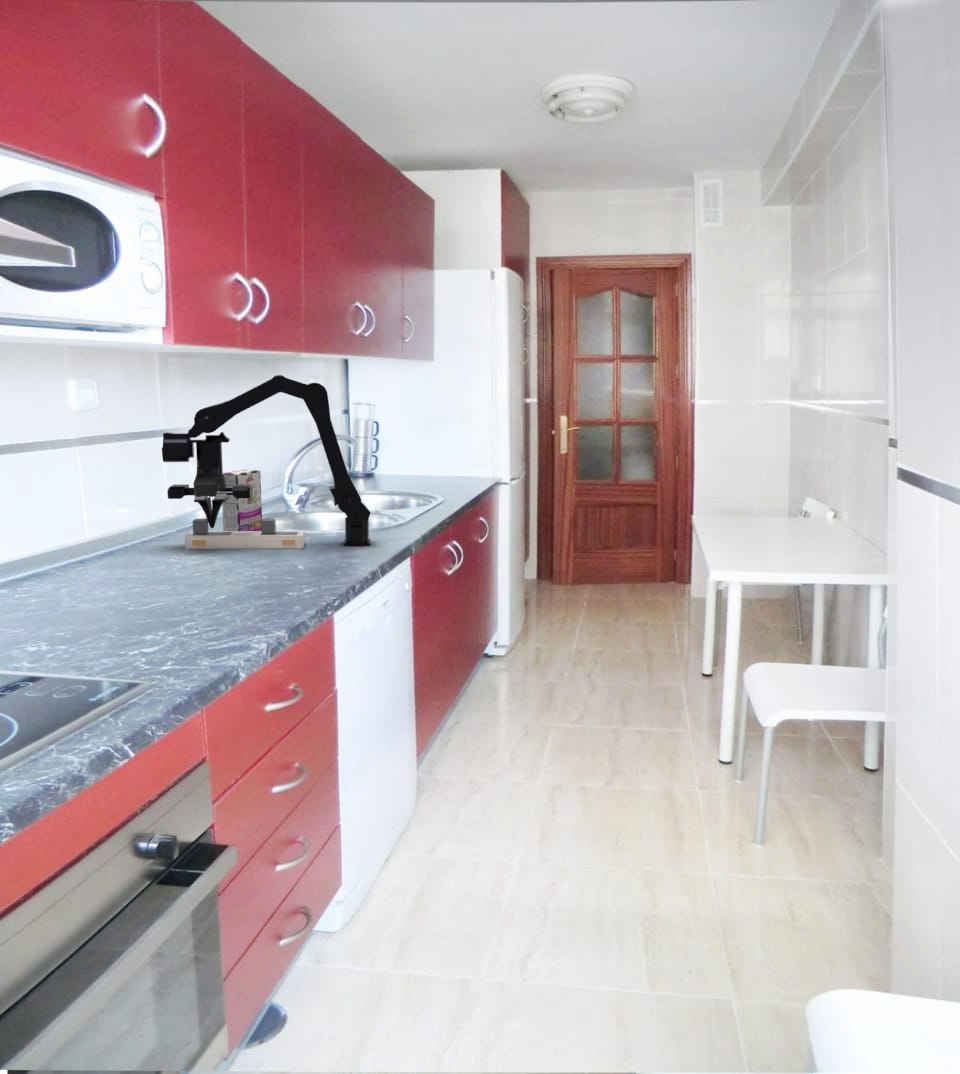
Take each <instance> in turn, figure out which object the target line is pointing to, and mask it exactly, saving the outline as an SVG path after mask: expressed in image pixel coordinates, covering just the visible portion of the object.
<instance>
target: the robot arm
mask: <svg viewBox="0 0 960 1074" xmlns="http://www.w3.org/2000/svg"><path fill="white" fill-rule="evenodd" d="M280 393H283V394H286V395H289V396H292V397H294V398H295V397H296V398H298V399H301V400H303V402H304V404H305V406H306V408H307V410H308V412H309V413H310V414H311V417H312V419H313V421H314V423H315V426H316V428H317V431H318V434H319V437H320V441H321V444H322V447H323V450H324V453H325V456H326V459H327V462H328V465H329V468H330V472H331V476H332V480H333V485H331V486H330V485H329V486H328V490H330V493H331V495H332V502H333V505H334V506H337V507H338V508H339V510H340V511H341V513H344V514H345V518H344V529H345V530H344V534H345V535H344V538H343V541H342V545H345V546H350V545H351V546H353V545H354V546H360V545H361V546H364V545H365V546H366V545H367V546H370V545H371V538H369V537H370V536H369V535H370V532H369V530H370V529H369V527H370V525H369V524H370V522H369V521H370V515H371V510H370V509H368V507H367V506H366V505H365V504H364V503H363V502H362V498H361V495H360V493H359V492H358V490H357V489H356V486H355V485H354V482H353V480H352V479H351V477H350V475H349V474H348V473H349V472H348V471H347V467H346V463H345V459H344V457H343V455H342V451H341V448H340V444H339V441H338V439H337V435H336V432H335V428H334V426H333V422H332V420H331V411H330V403H329V396H328V390H327V389H326V387H325V386H324V385H322V383H317V382H310V383H308V384H307V383H304V382H303V383H302V382H301V381H297V380H294V379H290V378H288V377H286V376H284V375H282V374H277V375H274V376H273V377H272V378H271V379H269V380H266V381H264V382H263V383H261V384H259V385H256V386H255V387H253V388H251V389H249V390H246V391H245V392H243V393H241V394H239V395H237V396H235V397H234V398H231V399H228V400H226V401H223V402H219V403H216V404H213V405H209V406H206V407H204V408H201V409H199V410H198V411H196V413H195V415H194V418H193V421H194V422H193V423H194V424H193V425H192V427H191V428H189V429H188V432H186V433H182V432H180V433H179V432H178V433H173V432H163V433H162V447H161V455H162V461H163V463H189V462H190V459H193V458H194V457H195V450H196V475H195V478H194V481H193V487H190V484H172V485H170V486H169V487H168V488H167V499H168V500H175V499H176V500H179V499H180V500H181V499H183V498H184V497H186V496H193V497H194V499H193V503H198V504H199V505H200V507H201V509H202V511H203V512H204V514H205V517H206V519H207V520H208V526H209V527H210V529H214V528H215V525H216V523H217V519H218V515H219V513H220V510H221V507H223V506H222V503H223V502H225V501H227V500H228V497H227V496H228V495H233V496H234V497H235V498H251V497H252V496H253V487H252V486H251V485H250V484H235V485H234V486H233V488H226V480H225V475H223V473H224V472H223V448H222V444H223V443H229V442H230V441H231V440H230V438H229V437H227V435H226V434H225V433H224V431H221V432H220V433H219V434H211V433H214V432H216V431H217V430H218V429H219V428H221V427H222V426H223V425H224V424H227V422H228V421H230V420H231V419H232V418H234V417H235V416H237V414H240V413H242V412H244V411H246V410H247V409H249V408H252V407H253V406H256V405H258V404H259V403H262V402H263V401H266V400H267V399H269V398H271V397H273V396H275V395H278V394H280ZM203 433H204V434H206V435H205V439H204V438H203V439H195V438H197V437H200V436H201V435H202V434H203ZM194 444H195V447H194ZM211 498H213V499H211Z"/></svg>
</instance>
